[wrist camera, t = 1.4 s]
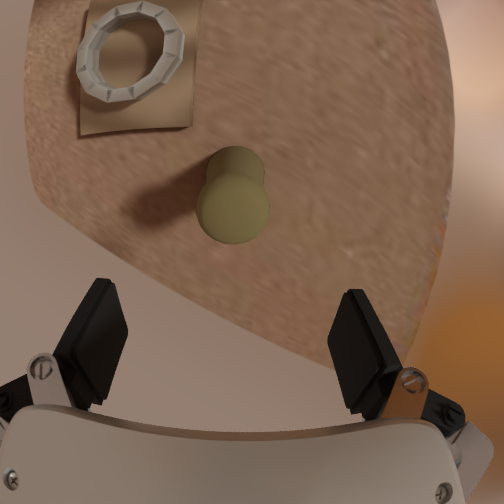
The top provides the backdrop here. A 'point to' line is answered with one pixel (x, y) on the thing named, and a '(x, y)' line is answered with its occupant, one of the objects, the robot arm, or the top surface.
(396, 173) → the top surface
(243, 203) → the olive green peg
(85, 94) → the socket board
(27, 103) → the top surface
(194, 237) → the top surface
